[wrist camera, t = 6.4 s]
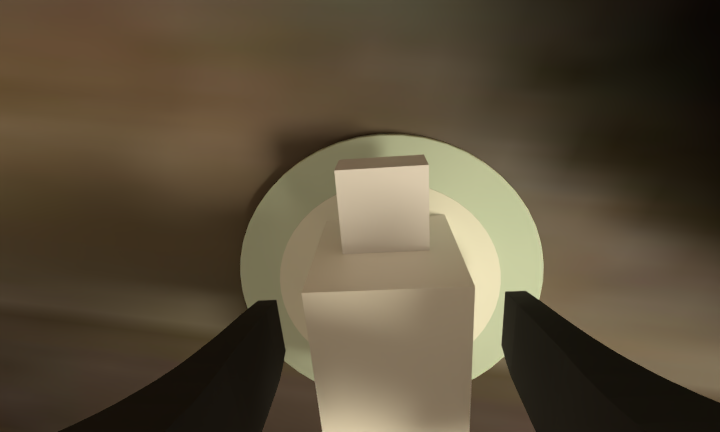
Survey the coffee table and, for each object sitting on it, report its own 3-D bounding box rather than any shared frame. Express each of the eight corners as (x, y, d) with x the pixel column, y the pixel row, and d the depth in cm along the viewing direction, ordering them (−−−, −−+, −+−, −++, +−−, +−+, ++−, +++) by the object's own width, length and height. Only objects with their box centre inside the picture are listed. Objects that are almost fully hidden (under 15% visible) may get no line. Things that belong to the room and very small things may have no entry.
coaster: (553, 121, 12) (561, 124, 12) (525, 387, 16) (530, 399, 16) (217, 144, 13) (210, 148, 12) (269, 392, 17) (265, 403, 16)
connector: (443, 356, 15) (467, 468, 11) (342, 359, 15) (328, 469, 11) (445, 143, 12) (479, 185, 8) (318, 151, 12) (286, 195, 8)
